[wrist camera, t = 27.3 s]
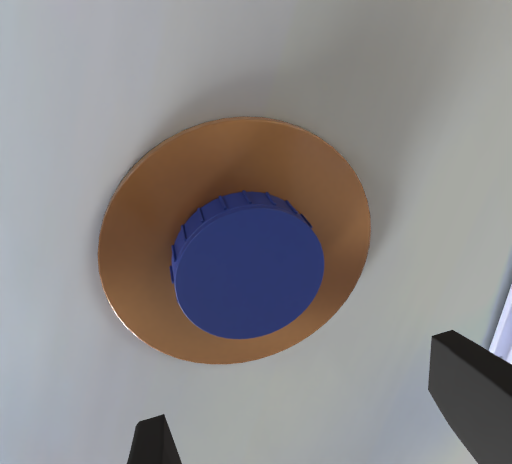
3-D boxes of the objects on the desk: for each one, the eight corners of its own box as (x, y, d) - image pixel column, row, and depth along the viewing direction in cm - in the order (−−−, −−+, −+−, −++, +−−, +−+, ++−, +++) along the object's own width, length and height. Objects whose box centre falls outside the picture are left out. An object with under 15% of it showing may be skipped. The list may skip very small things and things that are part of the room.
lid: (304, 174, 17) (320, 189, 15) (316, 296, 19) (330, 318, 18) (153, 209, 16) (155, 228, 14) (187, 331, 19) (192, 357, 17)
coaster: (349, 339, 22) (353, 346, 21) (116, 373, 19) (115, 382, 19) (384, 112, 17) (391, 115, 16) (77, 120, 14) (75, 123, 14)
